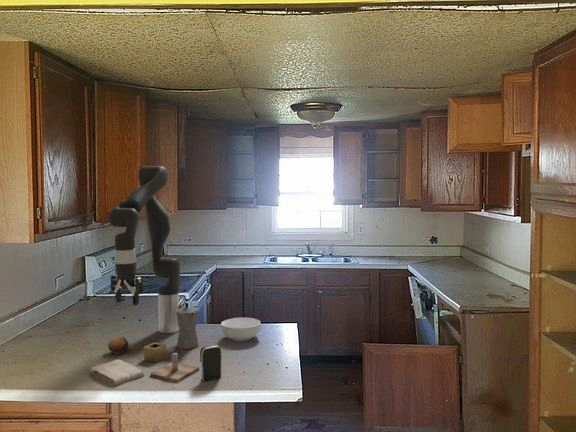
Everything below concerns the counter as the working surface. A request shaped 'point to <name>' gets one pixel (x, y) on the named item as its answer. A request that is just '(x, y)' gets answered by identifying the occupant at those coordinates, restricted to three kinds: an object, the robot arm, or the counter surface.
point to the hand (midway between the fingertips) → (127, 303)
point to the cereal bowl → (240, 328)
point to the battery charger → (210, 362)
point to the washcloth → (116, 372)
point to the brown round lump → (118, 345)
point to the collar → (155, 352)
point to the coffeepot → (187, 327)
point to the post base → (176, 374)
